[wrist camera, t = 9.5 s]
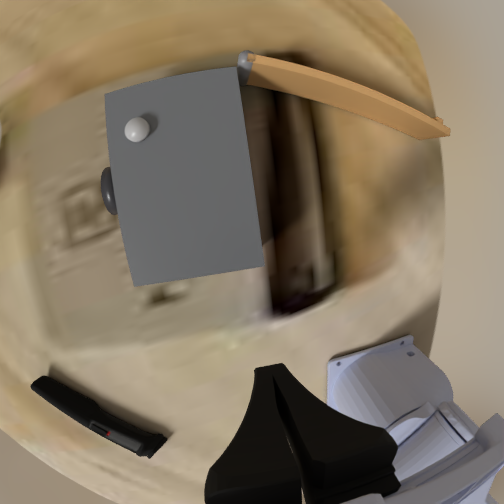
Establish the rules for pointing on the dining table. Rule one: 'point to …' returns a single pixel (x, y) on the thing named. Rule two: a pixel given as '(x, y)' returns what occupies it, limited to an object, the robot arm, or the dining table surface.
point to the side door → (336, 94)
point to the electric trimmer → (97, 418)
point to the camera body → (182, 177)
